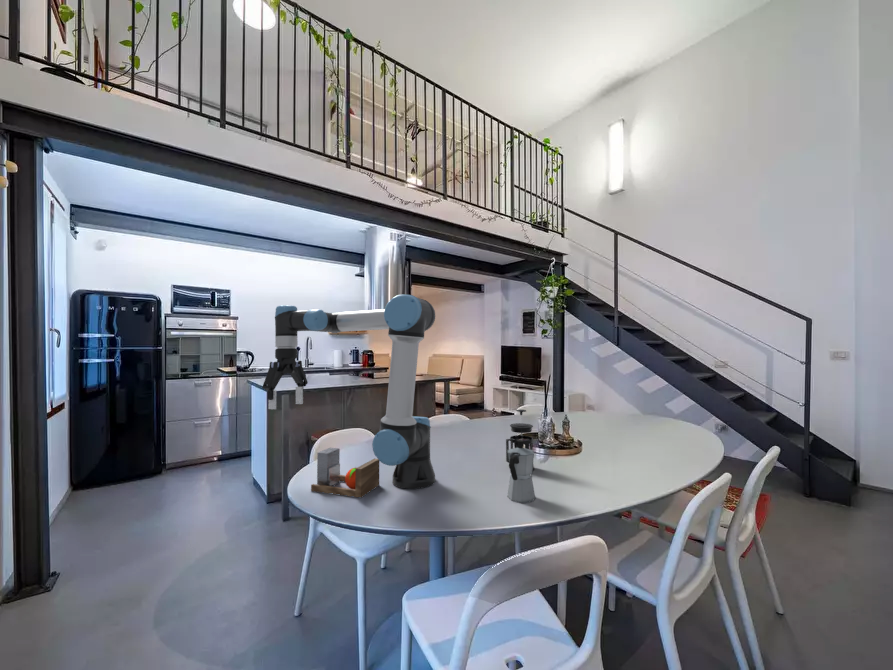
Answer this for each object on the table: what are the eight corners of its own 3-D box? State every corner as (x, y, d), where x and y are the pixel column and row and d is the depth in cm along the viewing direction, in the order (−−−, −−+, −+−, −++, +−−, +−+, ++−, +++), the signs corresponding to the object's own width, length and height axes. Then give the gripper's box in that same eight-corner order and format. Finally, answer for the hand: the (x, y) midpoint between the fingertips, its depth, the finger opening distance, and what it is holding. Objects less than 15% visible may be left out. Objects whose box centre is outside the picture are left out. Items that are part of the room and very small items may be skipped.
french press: (528, 463, 157) (527, 407, 158) (540, 470, 148) (539, 410, 149) (501, 466, 154) (501, 408, 154) (512, 473, 145) (512, 412, 145)
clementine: (359, 494, 124) (359, 472, 125) (339, 493, 126) (339, 471, 126) (369, 485, 132) (369, 465, 132) (350, 484, 134) (350, 464, 134)
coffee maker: (515, 488, 129) (514, 434, 130) (540, 493, 124) (540, 437, 125) (497, 504, 116) (496, 444, 117) (525, 510, 111) (524, 447, 112)
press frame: (379, 485, 133) (379, 458, 133) (360, 497, 121) (361, 469, 122) (332, 479, 139) (332, 454, 139) (311, 491, 127) (311, 463, 128)
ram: (340, 483, 135) (341, 448, 135) (328, 489, 128) (328, 453, 129) (329, 481, 136) (329, 447, 137) (317, 488, 130) (317, 452, 130)
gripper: (301, 348, 153) (301, 401, 152) (251, 348, 129) (250, 411, 128) (316, 347, 151) (317, 402, 150) (268, 347, 127) (268, 411, 126)
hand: (286, 406), depth 139 cm, fingers open, 13 cm apart
